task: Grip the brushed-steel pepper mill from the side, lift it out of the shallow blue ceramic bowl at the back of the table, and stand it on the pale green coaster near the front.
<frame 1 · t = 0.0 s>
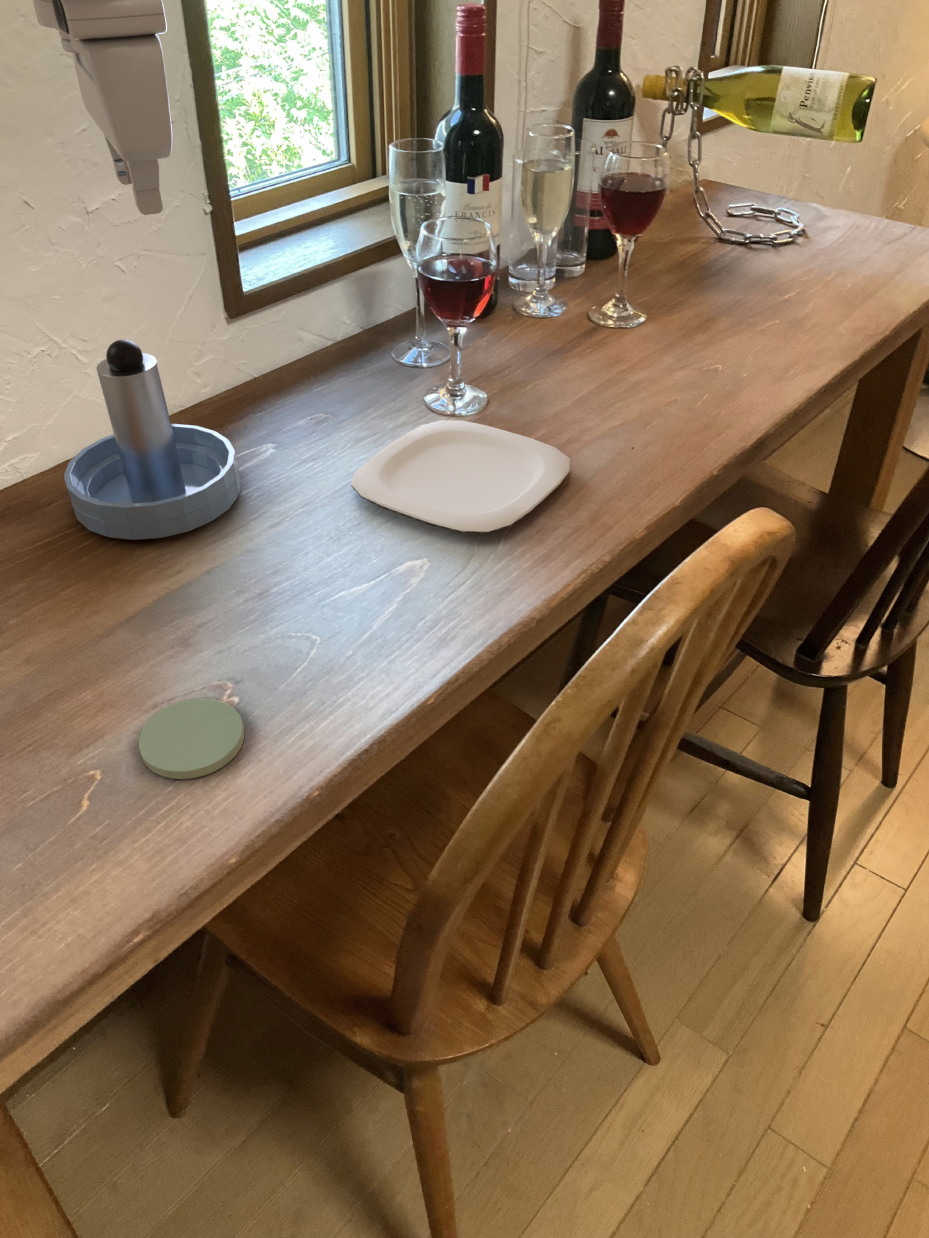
hand: (139, 196, 78), 26 cm above the table, tool pointing down, fingers open, 8 cm apart
pepper mill: (158, 494, 91), point 1 cm above the table, touching bowl
plate: (462, 486, 93), on the table
coaster: (193, 741, 66), on the table
bowl: (160, 499, 91), on the table
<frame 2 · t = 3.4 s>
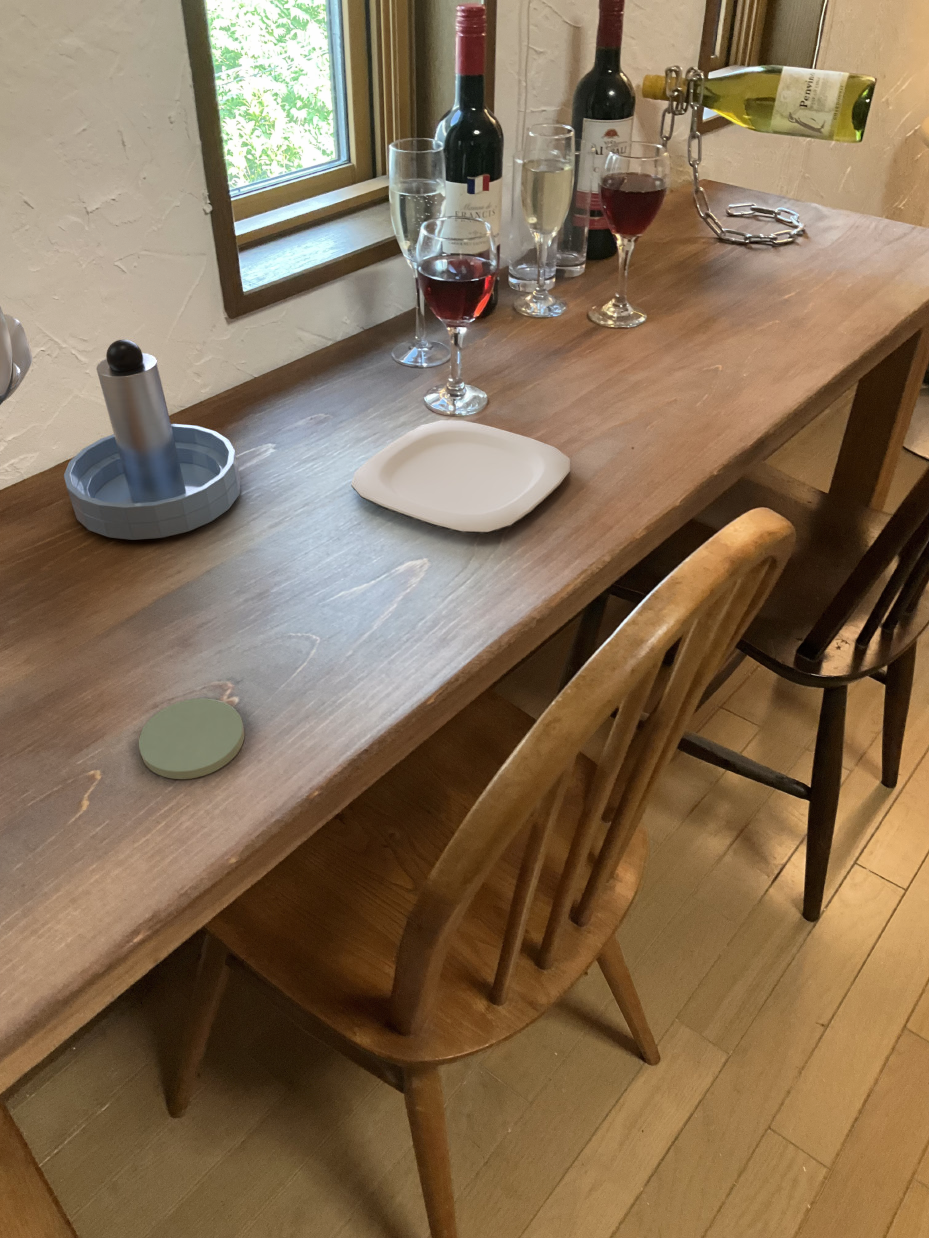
nothing on the table moved.
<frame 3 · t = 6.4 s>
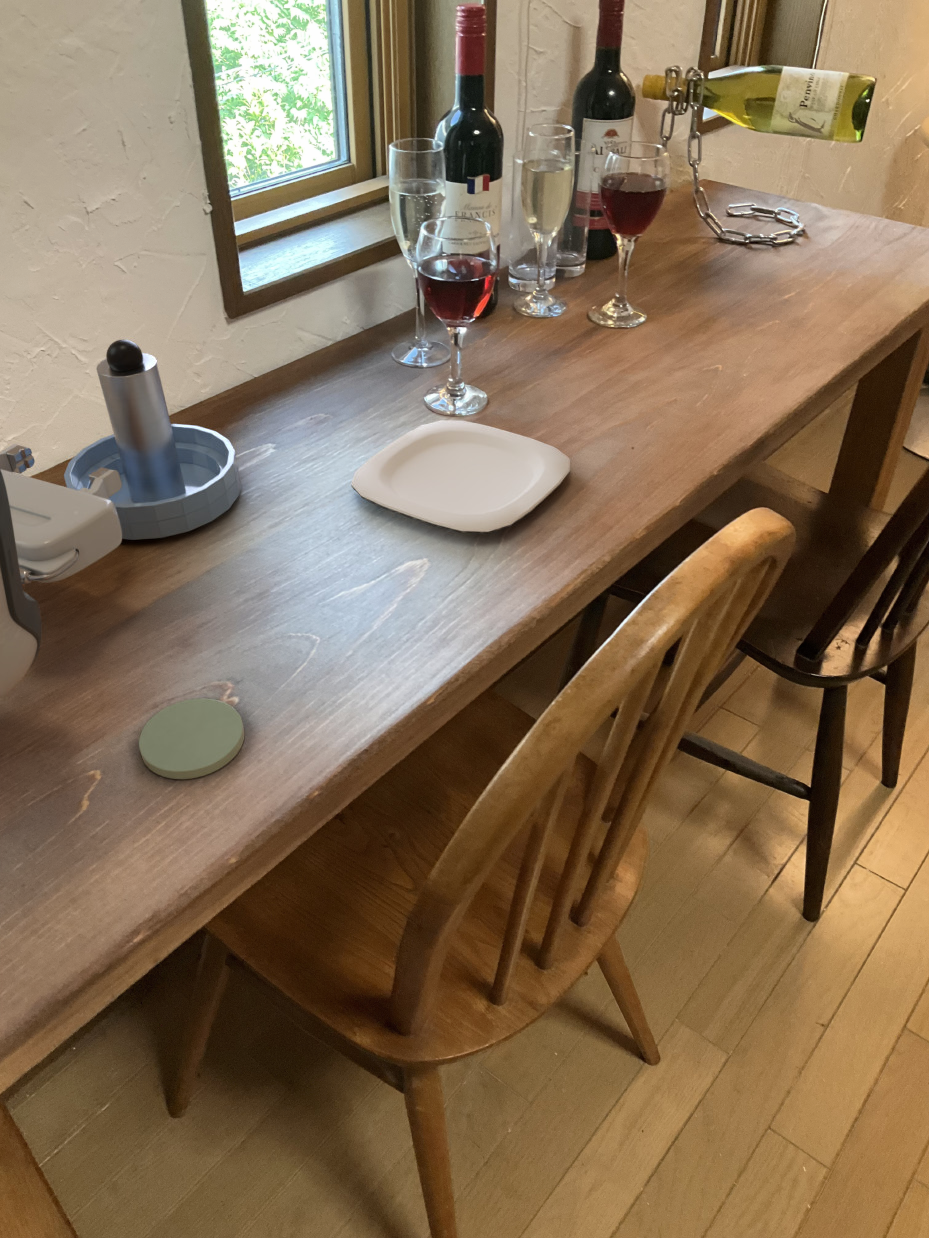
hand: (69, 464, 79), 9 cm above the table, tool horizontal, fingers open, 8 cm apart
nothing on the table moved.
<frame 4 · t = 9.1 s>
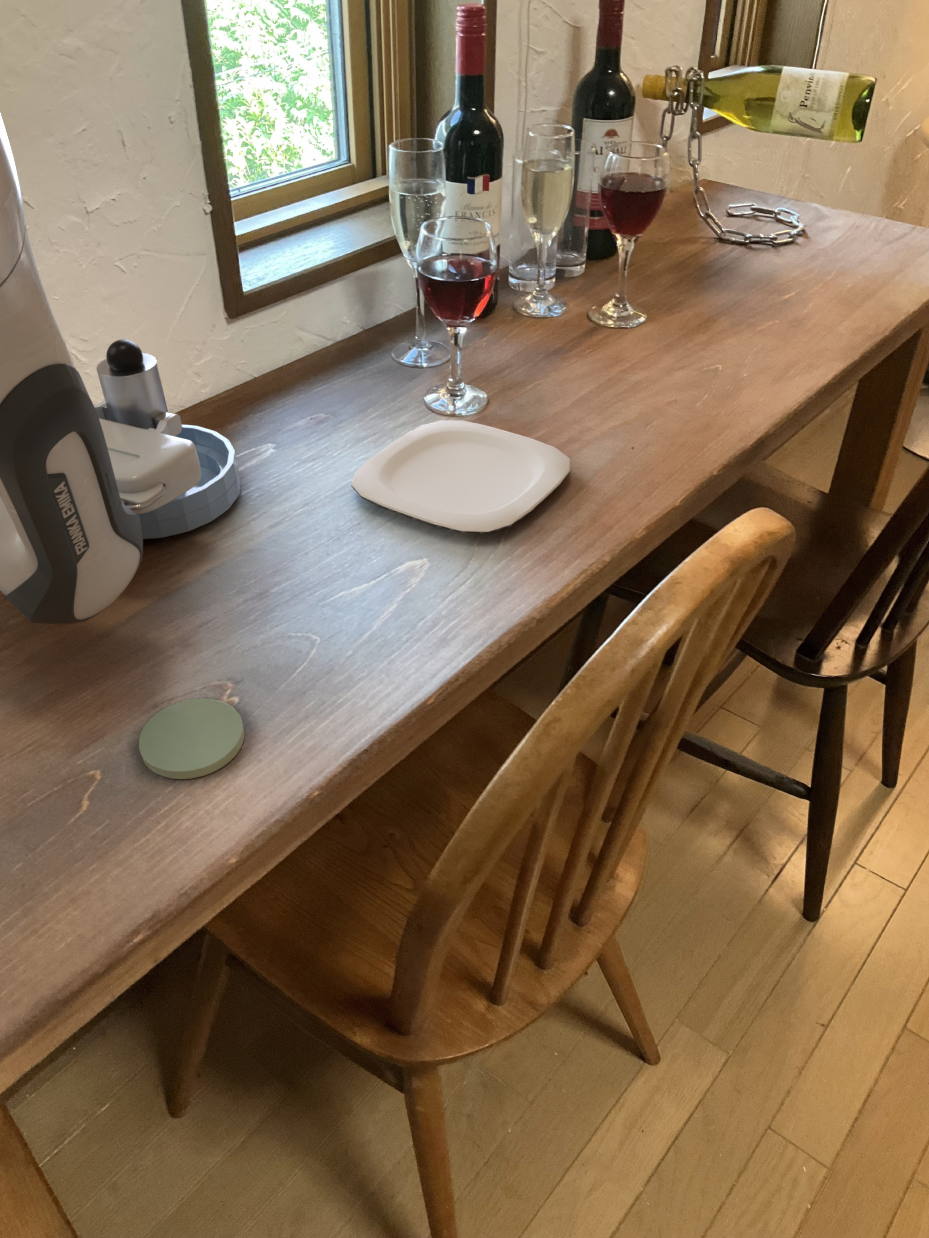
hand: (146, 413, 86), 9 cm above the table, tool horizontal, fingers closed on pepper mill, 5 cm apart
pepper mill: (158, 494, 91), point 1 cm above the table, touching bowl, gripper
everything else where it was.
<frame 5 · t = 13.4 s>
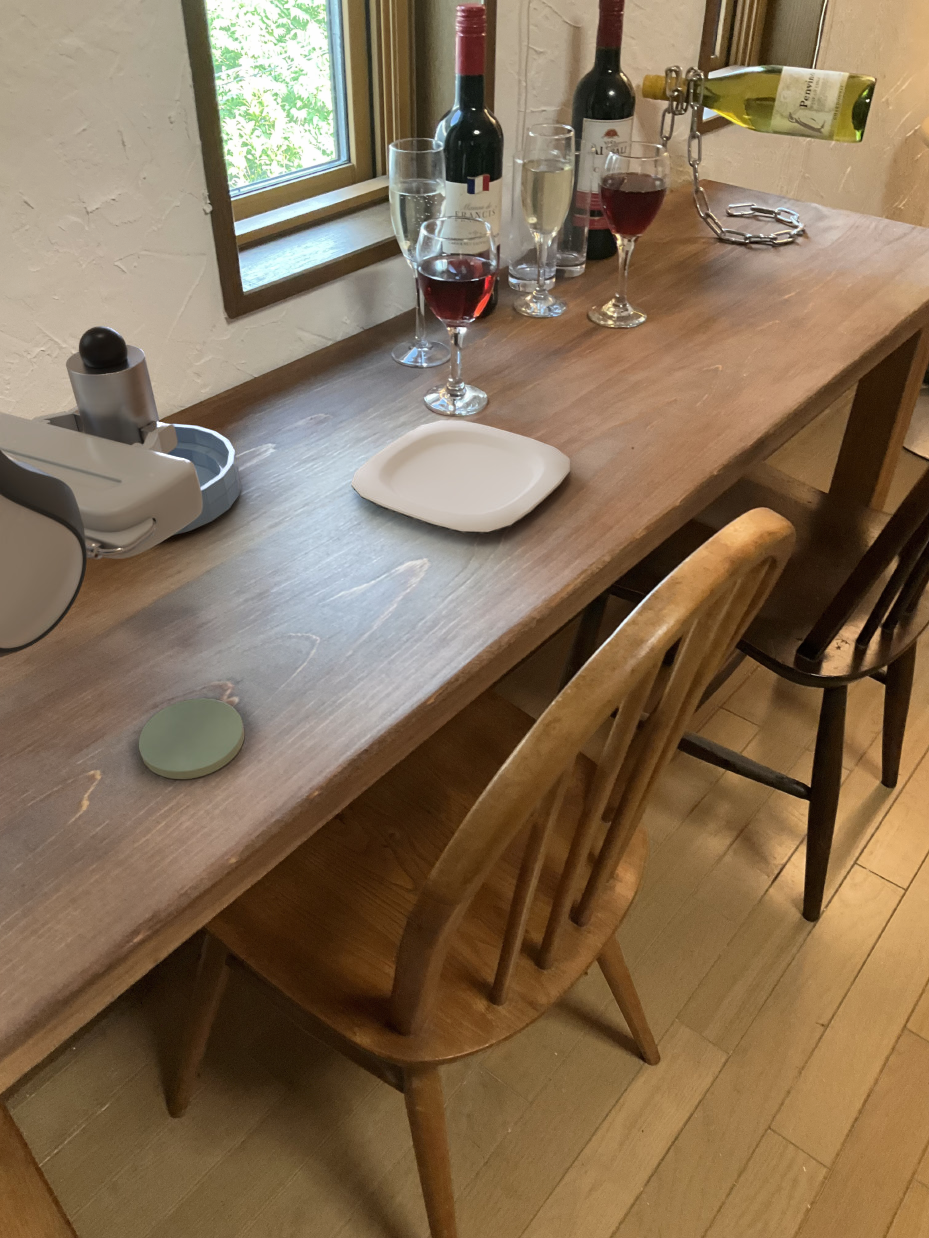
hand: (130, 423, 67), 17 cm above the table, tool horizontal, fingers closed on pepper mill, 5 cm apart
pepper mill: (146, 524, 71), point 9 cm above the table, touching gripper
everything else where it was.
when the fingers open (9 cm above the table, at t = 18.0 s): pepper mill stays where it is, resting on coaster.
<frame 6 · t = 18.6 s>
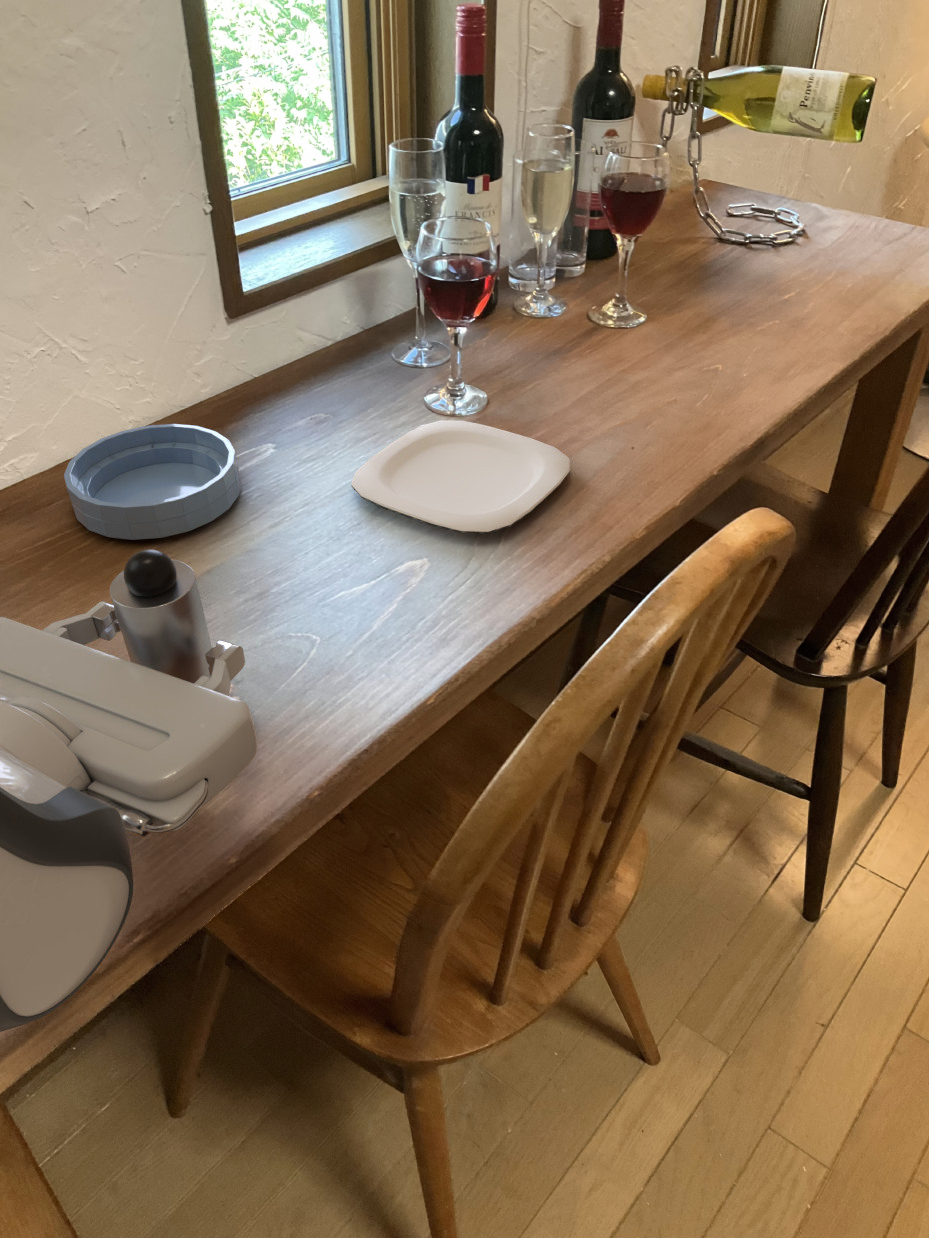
hand: (173, 630, 61), 9 cm above the table, tool horizontal, fingers open, 8 cm apart
pepper mill: (193, 735, 66), point 1 cm above the table, touching coaster
everything else where it was.
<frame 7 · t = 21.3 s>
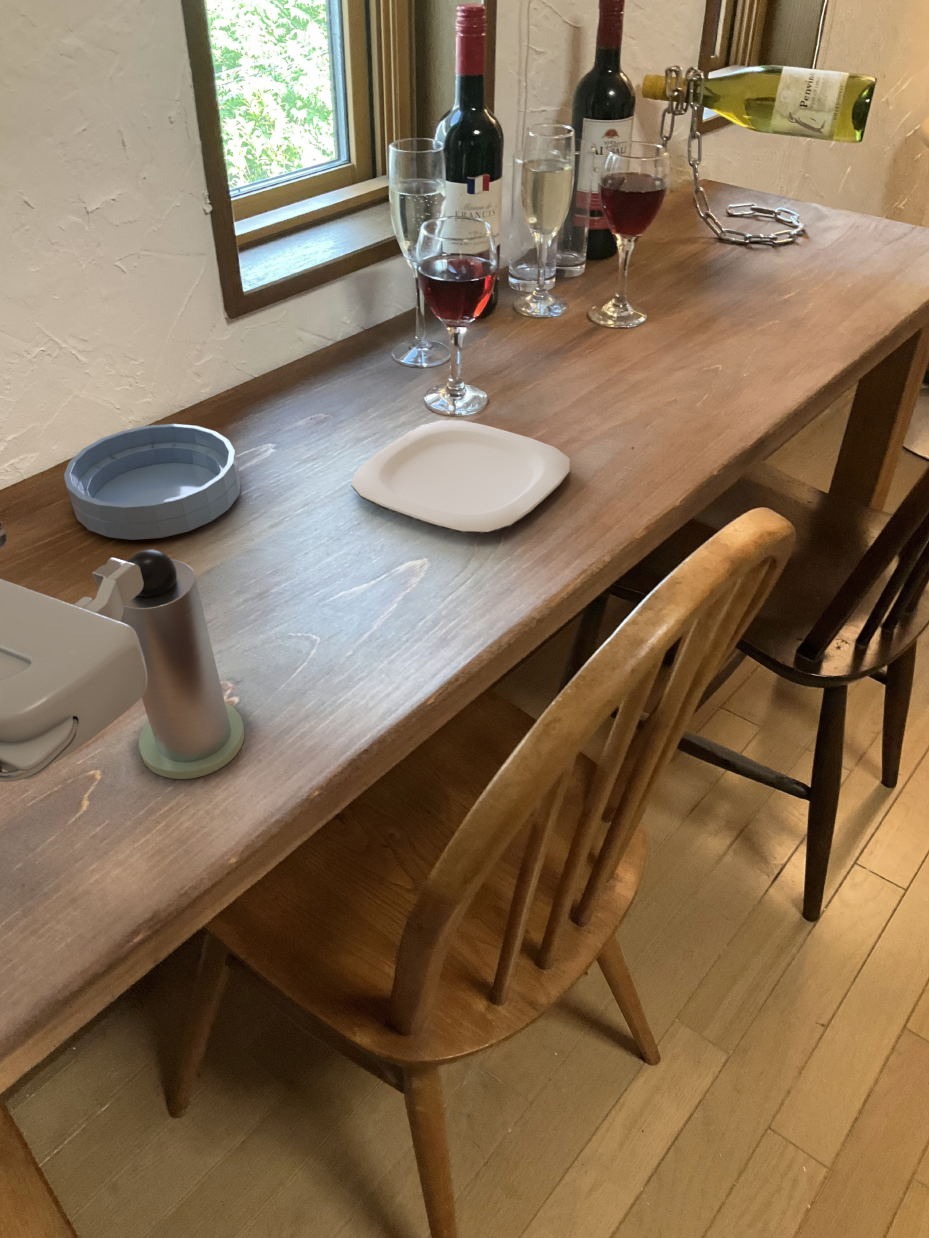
hand: (60, 547, 51), 19 cm above the table, tool horizontal, fingers open, 8 cm apart
nothing on the table moved.
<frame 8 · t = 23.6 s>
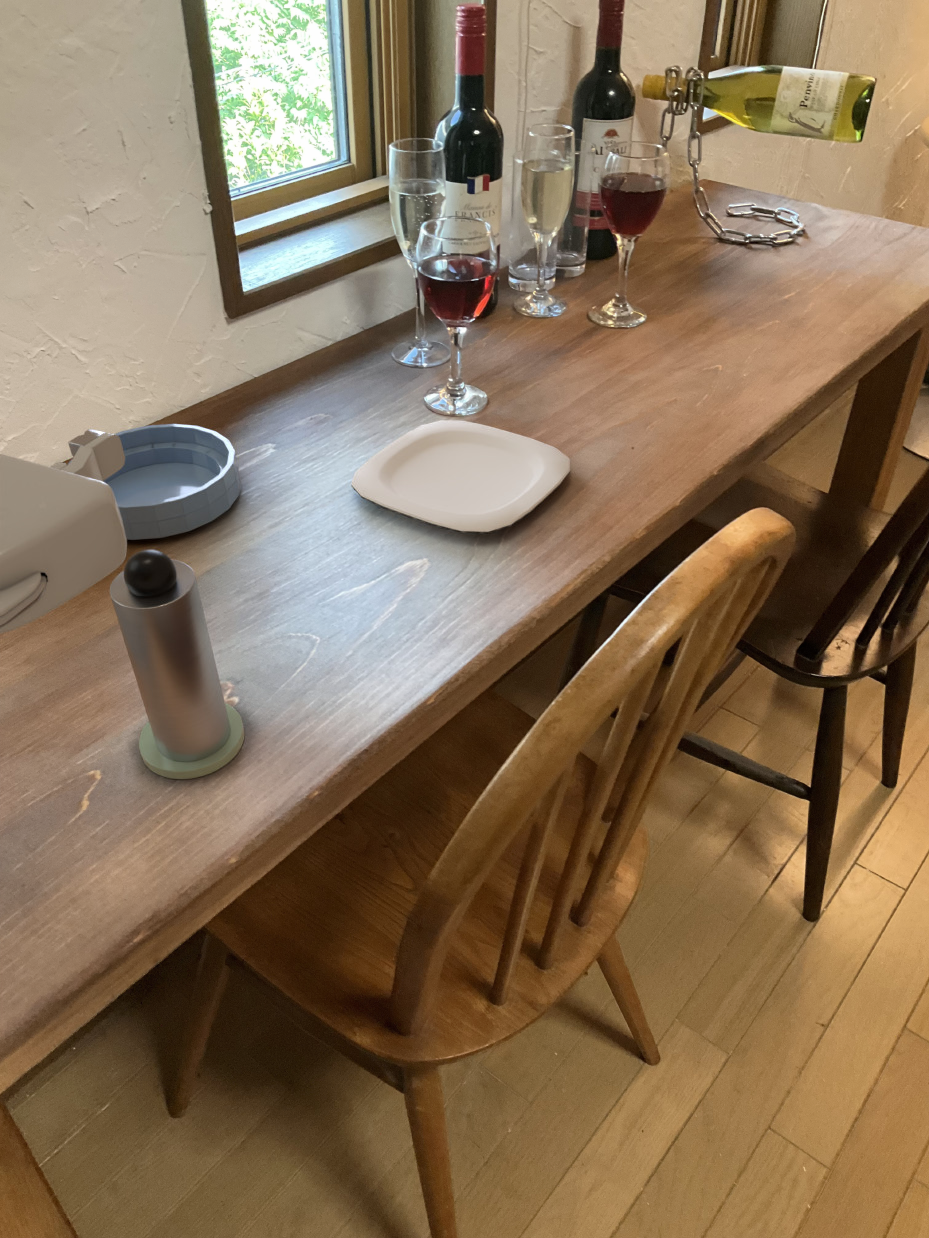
hand: (36, 426, 47), 26 cm above the table, tool horizontal, fingers open, 8 cm apart
nothing on the table moved.
at the end: pepper mill 0.3 cm off-centre on the coaster, point 0.8 cm above the coaster's base; pepper mill tilted 0°; pepper mill touching coaster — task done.
